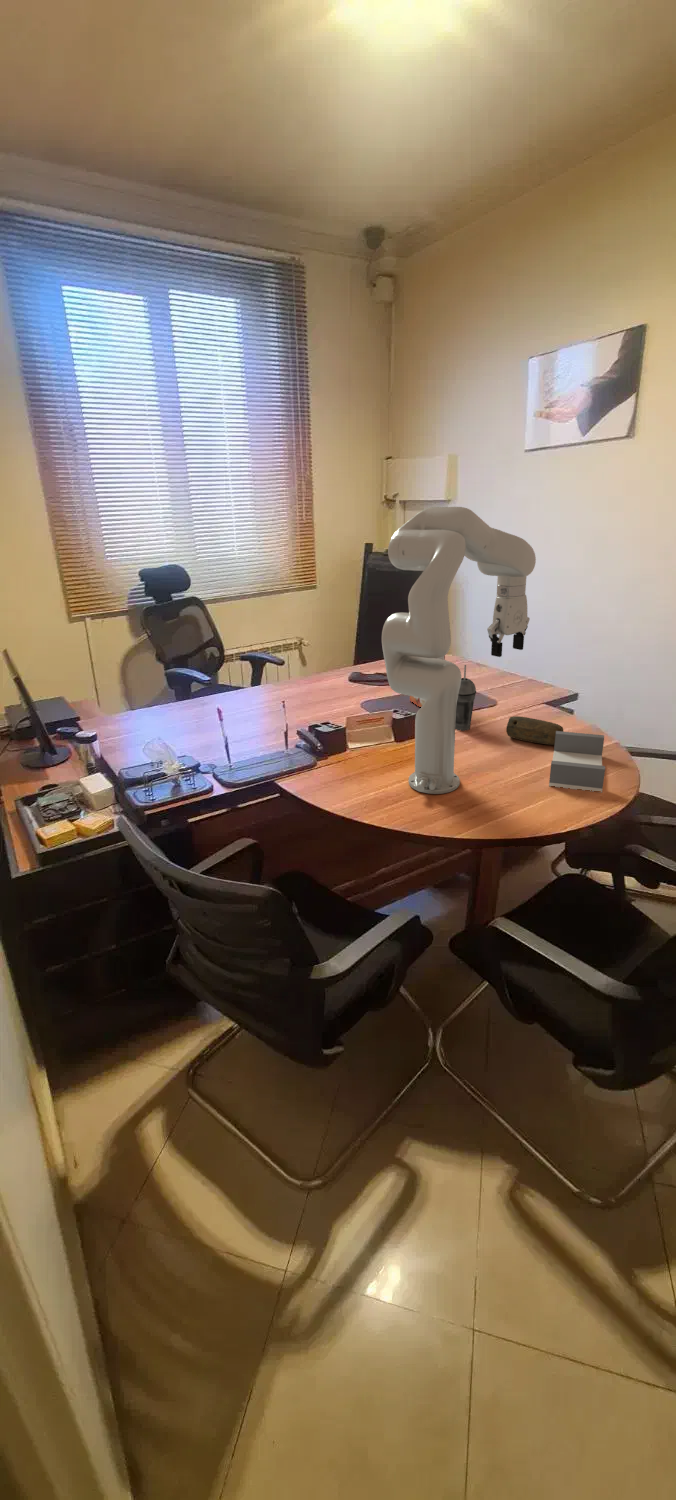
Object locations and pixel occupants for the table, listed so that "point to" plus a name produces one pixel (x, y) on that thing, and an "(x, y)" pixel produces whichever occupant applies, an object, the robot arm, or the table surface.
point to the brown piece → (532, 730)
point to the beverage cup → (465, 703)
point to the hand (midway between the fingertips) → (507, 652)
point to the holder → (577, 761)
